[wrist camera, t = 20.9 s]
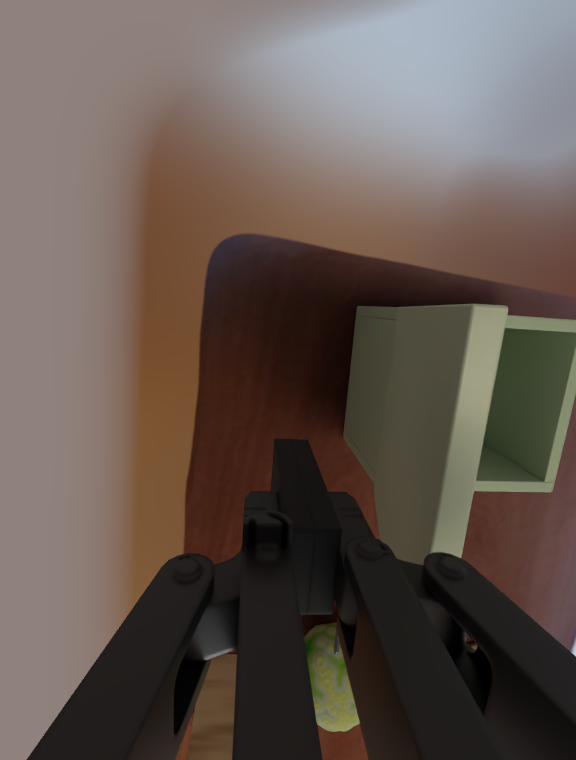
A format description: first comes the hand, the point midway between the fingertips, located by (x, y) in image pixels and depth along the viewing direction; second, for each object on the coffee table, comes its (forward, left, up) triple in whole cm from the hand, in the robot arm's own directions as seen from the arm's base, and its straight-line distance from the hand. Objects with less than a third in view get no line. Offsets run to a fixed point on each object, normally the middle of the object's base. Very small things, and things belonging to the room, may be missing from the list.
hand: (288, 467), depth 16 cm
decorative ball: (+33, -14, -24) cm, 44 cm away
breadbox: (+10, +13, -24) cm, 29 cm away
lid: (+5, +6, -3) cm, 8 cm away
